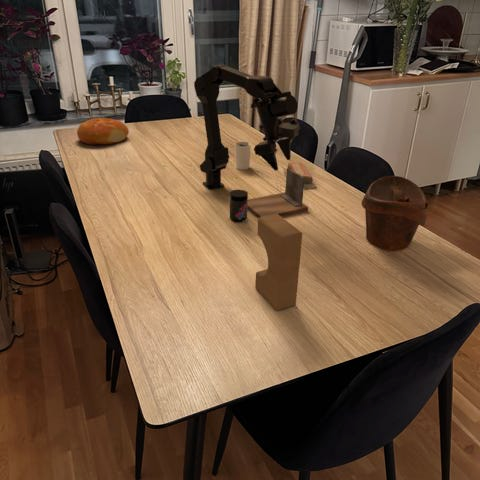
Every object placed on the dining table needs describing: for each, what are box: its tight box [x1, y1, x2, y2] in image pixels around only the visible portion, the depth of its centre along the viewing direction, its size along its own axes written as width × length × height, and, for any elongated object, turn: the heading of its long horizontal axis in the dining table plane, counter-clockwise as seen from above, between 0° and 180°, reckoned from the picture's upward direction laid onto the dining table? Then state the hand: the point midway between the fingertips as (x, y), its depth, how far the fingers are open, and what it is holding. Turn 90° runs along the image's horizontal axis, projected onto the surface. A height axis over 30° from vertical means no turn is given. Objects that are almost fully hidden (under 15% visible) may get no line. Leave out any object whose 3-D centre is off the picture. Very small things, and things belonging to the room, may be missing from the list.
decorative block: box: [254, 214, 303, 311], centre depth 108 cm, size 11×6×20 cm, turn 26°
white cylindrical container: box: [234, 141, 252, 171], centre depth 189 cm, size 7×7×10 cm
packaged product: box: [283, 161, 317, 189], centre depth 180 cm, size 18×5×10 cm
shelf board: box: [247, 167, 309, 219], centre depth 154 cm, size 14×18×12 cm
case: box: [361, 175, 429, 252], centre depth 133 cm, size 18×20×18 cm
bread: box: [76, 117, 130, 146], centre depth 218 cm, size 23×23×10 cm
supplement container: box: [229, 189, 249, 223], centre depth 147 cm, size 6×6×9 cm
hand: (282, 164), depth 150 cm, fingers open, 9 cm apart
